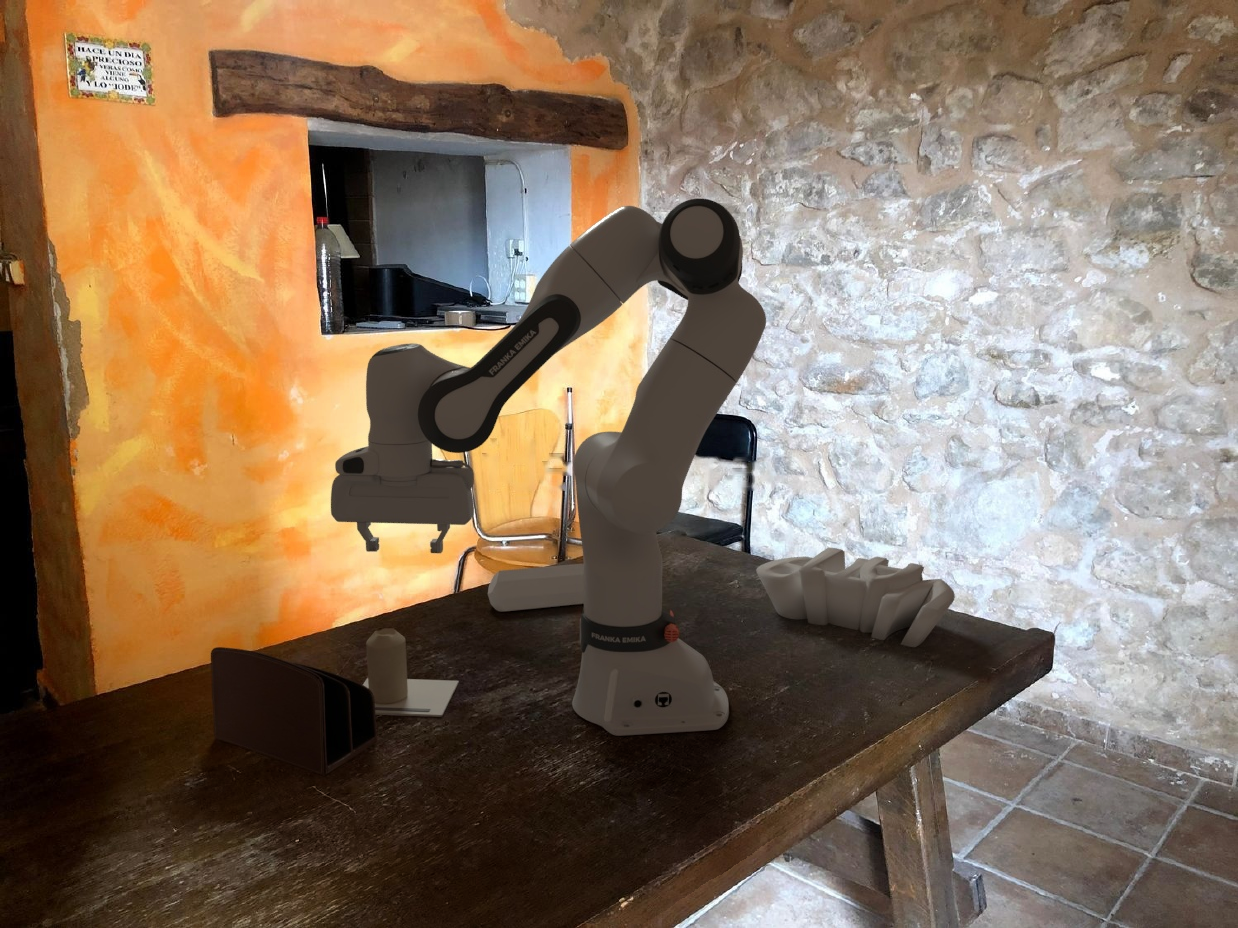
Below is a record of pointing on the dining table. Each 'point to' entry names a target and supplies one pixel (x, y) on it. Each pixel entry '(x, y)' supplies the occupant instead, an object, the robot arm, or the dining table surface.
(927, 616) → the wavy white extrusion
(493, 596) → the grey chamfered bar
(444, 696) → the white rectangular plate
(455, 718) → the dining table surface
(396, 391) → the robot arm
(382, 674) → the candle
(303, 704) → the letter holder
